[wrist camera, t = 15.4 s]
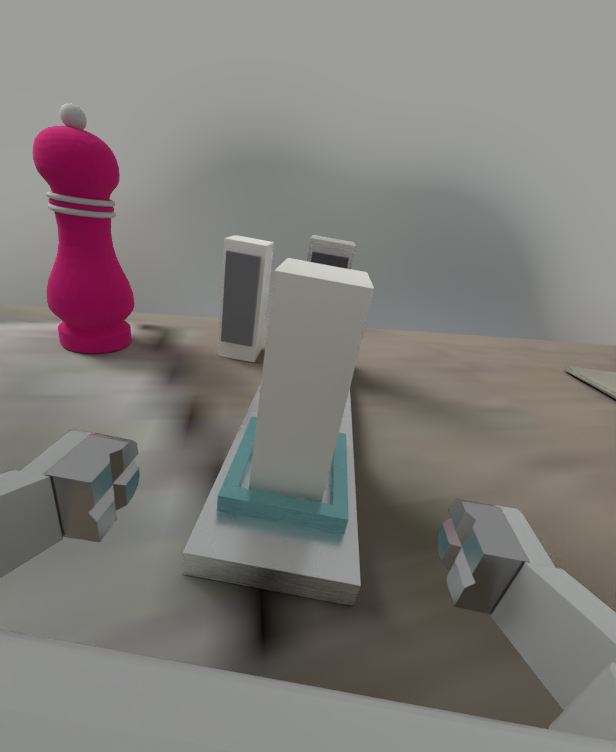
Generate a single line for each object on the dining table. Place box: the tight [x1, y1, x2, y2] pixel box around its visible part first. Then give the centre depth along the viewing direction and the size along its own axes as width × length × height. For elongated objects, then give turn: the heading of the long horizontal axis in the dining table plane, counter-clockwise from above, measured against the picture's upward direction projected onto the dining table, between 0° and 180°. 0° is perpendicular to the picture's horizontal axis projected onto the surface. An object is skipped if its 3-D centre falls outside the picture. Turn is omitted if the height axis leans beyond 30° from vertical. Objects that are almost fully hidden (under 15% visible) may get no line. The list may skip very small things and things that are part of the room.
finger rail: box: [182, 235, 361, 606], centre depth 26 cm, size 8×28×14 cm, turn 175°
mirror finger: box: [218, 235, 274, 362], centre depth 37 cm, size 4×5×12 cm
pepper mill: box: [33, 103, 134, 354], centre depth 32 cm, size 7×7×20 cm
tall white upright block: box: [249, 258, 374, 502], centre depth 19 cm, size 4×5×12 cm
